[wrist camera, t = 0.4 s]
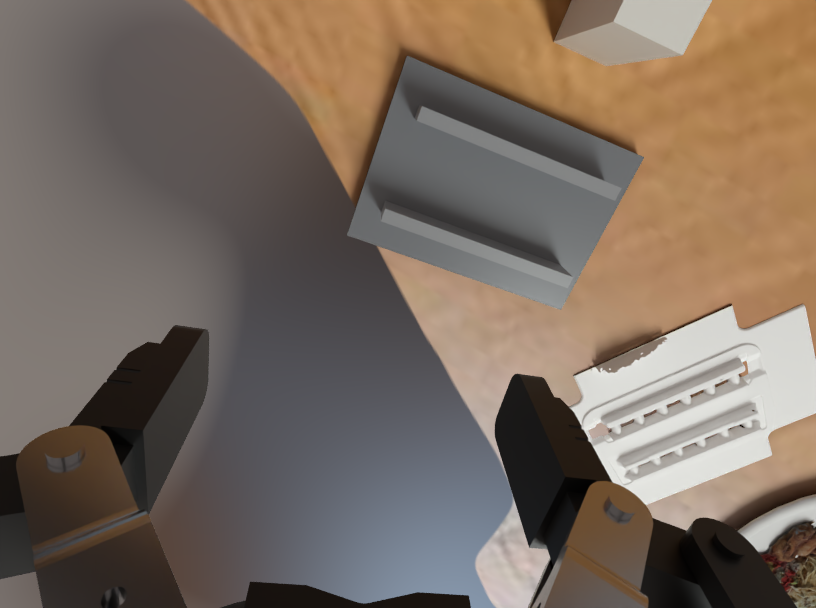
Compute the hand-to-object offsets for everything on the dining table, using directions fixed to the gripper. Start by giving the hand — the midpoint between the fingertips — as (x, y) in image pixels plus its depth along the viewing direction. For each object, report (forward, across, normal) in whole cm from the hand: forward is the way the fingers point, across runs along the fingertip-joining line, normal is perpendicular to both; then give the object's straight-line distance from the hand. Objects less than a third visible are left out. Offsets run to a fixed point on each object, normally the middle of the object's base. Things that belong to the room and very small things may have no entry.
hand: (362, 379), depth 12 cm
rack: (+28, -10, +1) cm, 30 cm away
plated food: (+24, -62, +38) cm, 76 cm away
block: (+29, -14, -13) cm, 35 cm away
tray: (+27, -36, +19) cm, 48 cm away
